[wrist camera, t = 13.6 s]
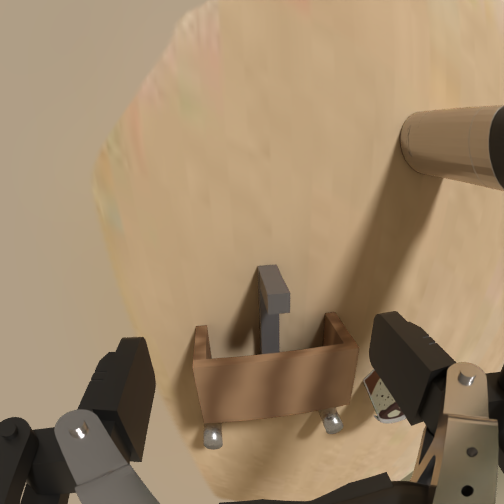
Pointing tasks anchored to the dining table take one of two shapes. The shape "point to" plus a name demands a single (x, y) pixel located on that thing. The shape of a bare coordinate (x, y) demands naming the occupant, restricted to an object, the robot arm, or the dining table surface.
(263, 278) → the scraper
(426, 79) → the dining table surface
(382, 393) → the food container
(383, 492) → the robot arm
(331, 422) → the goal posts
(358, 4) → the dining table surface
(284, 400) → the low shelf
